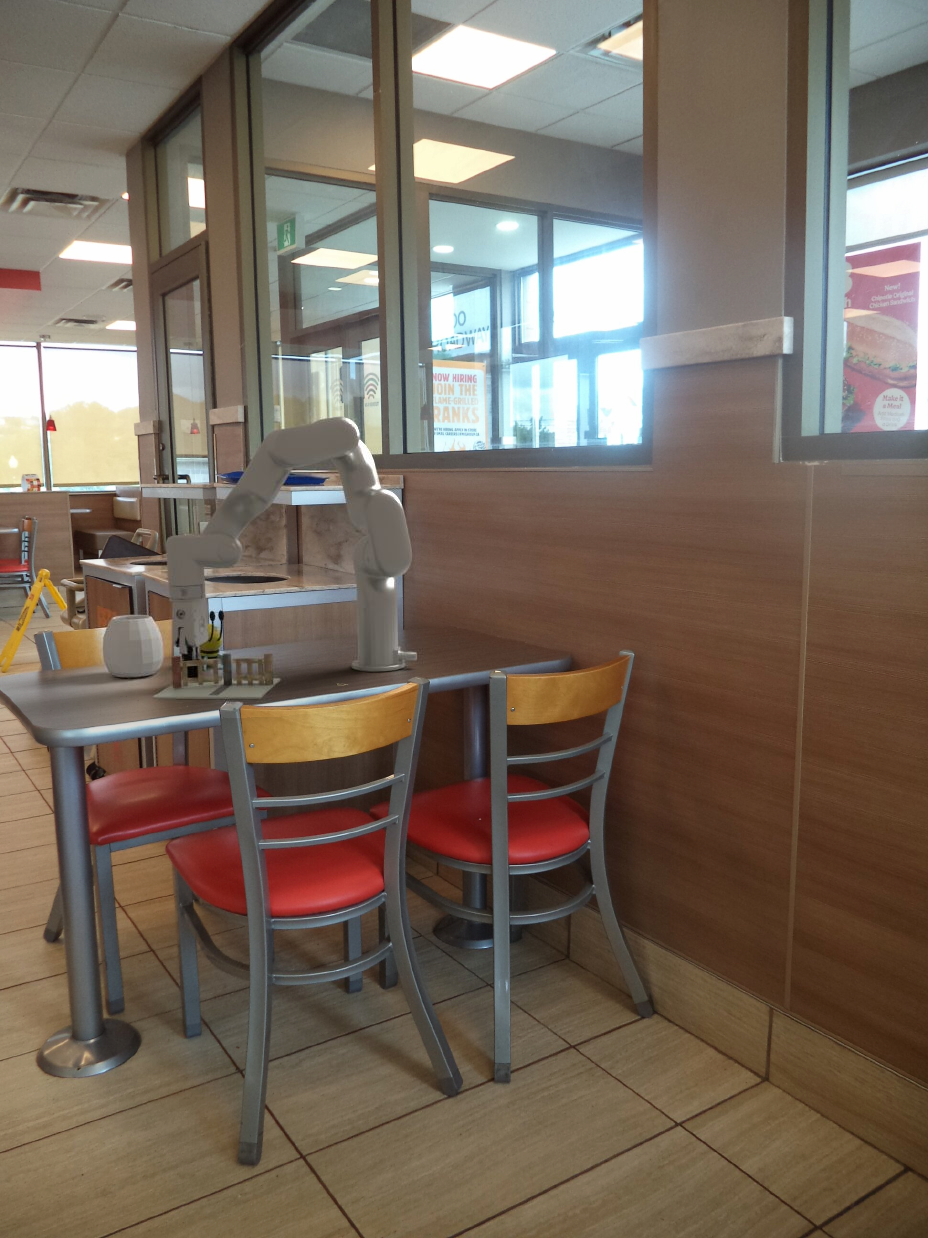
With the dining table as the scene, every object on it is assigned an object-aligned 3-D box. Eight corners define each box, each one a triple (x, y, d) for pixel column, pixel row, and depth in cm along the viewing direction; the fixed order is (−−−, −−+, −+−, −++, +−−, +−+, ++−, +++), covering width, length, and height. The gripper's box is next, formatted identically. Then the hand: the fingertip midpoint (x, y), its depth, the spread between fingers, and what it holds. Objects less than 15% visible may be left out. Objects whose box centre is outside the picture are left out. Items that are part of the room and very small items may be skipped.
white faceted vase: (130, 683, 213) (126, 622, 211) (91, 677, 220) (88, 618, 218) (176, 673, 224) (174, 615, 222) (138, 667, 231) (135, 612, 229)
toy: (213, 610, 238) (230, 609, 225) (217, 667, 238) (235, 669, 225) (188, 612, 235) (203, 611, 222) (192, 669, 235) (208, 671, 222)
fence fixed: (274, 685, 210) (273, 653, 209) (272, 687, 208) (271, 655, 207) (225, 685, 210) (223, 653, 209) (222, 687, 208) (221, 655, 207)
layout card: (280, 680, 215) (280, 678, 215) (259, 698, 196) (259, 696, 196) (182, 680, 216) (182, 678, 216) (152, 698, 197) (152, 696, 197)
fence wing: (221, 682, 209) (220, 653, 208) (222, 684, 208) (221, 654, 207) (172, 686, 205) (170, 657, 205) (173, 688, 204) (171, 658, 203)
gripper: (193, 597, 199) (198, 684, 201) (215, 588, 214) (219, 670, 216) (157, 597, 199) (162, 684, 202) (181, 589, 214) (186, 670, 216)
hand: (191, 677), depth 209 cm, fingers closed
